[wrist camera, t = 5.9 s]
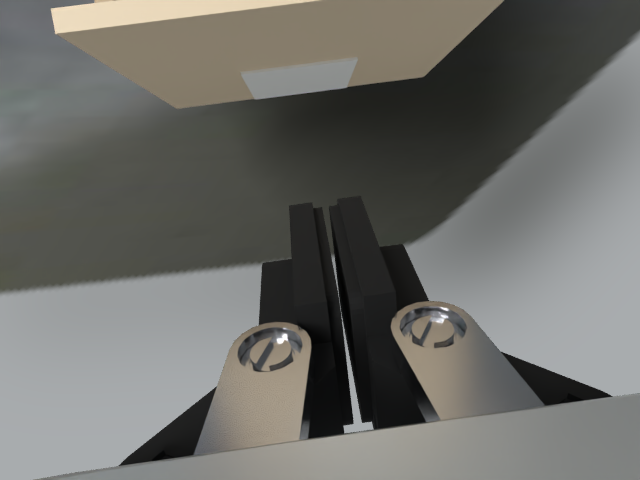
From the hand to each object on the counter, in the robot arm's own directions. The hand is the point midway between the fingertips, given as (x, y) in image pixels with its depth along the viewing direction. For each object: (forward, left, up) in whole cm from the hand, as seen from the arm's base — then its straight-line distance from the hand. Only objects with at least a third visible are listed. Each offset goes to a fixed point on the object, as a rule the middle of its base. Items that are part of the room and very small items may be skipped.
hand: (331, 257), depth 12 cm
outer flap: (0, -4, -9) cm, 10 cm away
